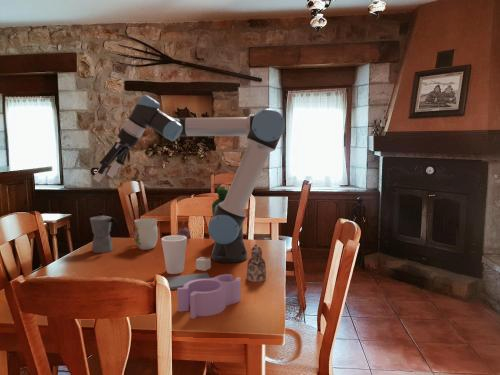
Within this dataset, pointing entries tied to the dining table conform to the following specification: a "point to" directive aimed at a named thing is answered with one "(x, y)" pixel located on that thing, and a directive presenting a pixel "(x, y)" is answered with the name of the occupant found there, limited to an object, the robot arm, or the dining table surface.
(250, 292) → the dining table surface
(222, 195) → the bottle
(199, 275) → the slate mat
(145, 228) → the pitcher
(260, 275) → the figurine
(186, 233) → the vegetable
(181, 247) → the foam cup
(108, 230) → the coffeepot
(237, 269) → the dining table surface
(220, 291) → the clip
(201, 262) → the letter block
